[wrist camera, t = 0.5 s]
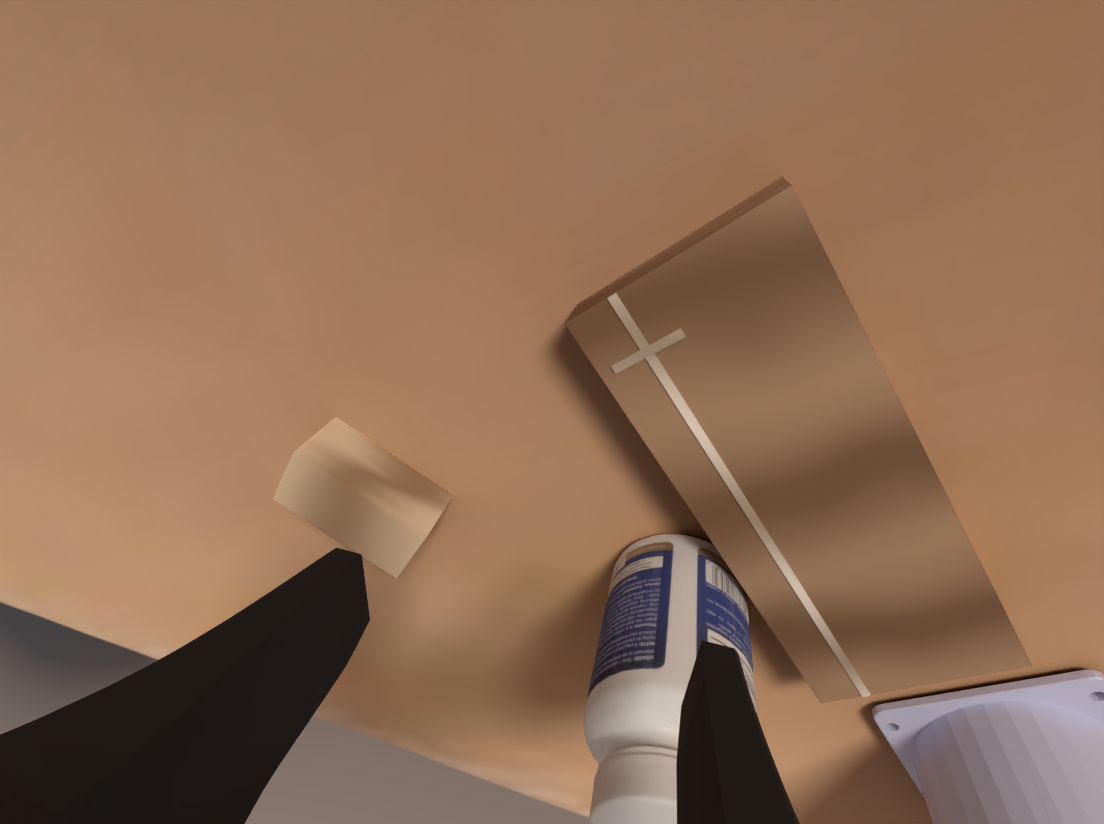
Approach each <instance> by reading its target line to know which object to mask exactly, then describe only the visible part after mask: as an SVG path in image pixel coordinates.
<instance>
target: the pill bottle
mask: <svg viewBox="0 0 1104 824" xmlns="http://www.w3.org/2000/svg"><path fill="white" fill-rule="evenodd" d="M702 640H703V641H707V642H711V643H715V644H719V645H723V646H727V647H731V648H735V650H736V651H737V652H738V654H739V657H740V661H741V665H742V669H743V672H744V676H745V679H746V683H747V686H748V689H749V692H750V695H751V699H752V702H753V705H754V708H755V711H756V714H757V709H756V700H755V687H754V676H753V664H752V653H751V642H750V631H749V619H748V608H747V600H746V592H745V590H744V589H743V587H742V586H741V584H740V583H739V581H738V580H737V578H736V577H735V575H734V574H733V572H732V571H731V570H730V568H729V567H728V565H727V564H726V562H725V561H724V559H723V558H722V556H721V555H720V553H719V552H718V550H717V549H716V547H715V546H714V545H713V544H711V543H709V542H707V541H704V540H701V539H698V538H695V537H691V536H687V535H681V534H660V535H654V536H650V537H647V538H643V539H641V540H639V541H637V542H635V543H633V544H632V545H631V546H629V547H628V548H627V549H626V550H625V551H623V553H622V554H621V556H620V557H619V559H618V560H617V562H616V564H615V567H614V570H613V574H612V578H611V582H610V588H609V592H608V598H607V604H606V608H605V613H604V618H603V623H602V628H601V633H600V638H599V643H598V648H597V653H596V658H595V663H594V668H593V673H592V678H591V683H590V688H589V693H588V698H587V702H586V707H585V715H584V733H585V738H586V741H587V744H588V747H589V749H590V751H591V753H592V755H593V756H594V758H595V759H596V761H597V762H598V764H599V767H598V769H597V773H596V775H595V779H594V788H593V795H592V802H591V809H590V824H677V774H676V761H677V749H678V737H679V726H680V715H681V705H682V702H683V698H684V695H685V692H686V689H687V686H688V682H689V679H690V676H691V673H692V670H693V666H694V663H695V660H696V657H697V654H698V651H699V647H700V644H701V641H702Z"/></svg>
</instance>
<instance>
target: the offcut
mask: <svg viewBox="0 0 1104 824" xmlns="http://www.w3.org/2000/svg"><path fill="white" fill-rule="evenodd" d="M452 497H453V495H452V494H450V493H449V492H447V491H446V490H444V489H443V488H441V487H440V486H438V485H437V484H435V483H434V482H432V481H431V480H429V479H428V478H426V477H425V476H423V475H422V474H420V473H419V472H417V471H416V470H414V469H413V468H411V467H410V466H408V465H407V464H405V463H404V462H402V461H401V460H399V459H398V458H397V457H395V456H394V455H392V454H391V453H389V452H388V451H386V450H385V449H383V448H382V447H380V446H379V445H377V444H376V443H374V442H373V441H371V440H370V439H368V438H367V437H365V436H364V435H362V434H361V433H359V432H358V431H356V430H355V429H353V428H352V427H350V426H349V425H347V424H346V423H344V422H343V421H341V420H340V419H338V418H337V417H335V418H334V419H333V420H331V421H330V422H329V423H328V424H327V425H325V426H324V427H323V428H322V429H321V430H319V431H318V432H317V433H316V434H315V435H313V436H312V437H311V438H310V439H309V440H307V441H306V442H305V443H304V444H303V445H301V446H300V447H299V448H298V449H297V450H295V451H294V452H293V454H292V456H291V459H290V461H289V463H288V466H287V468H286V470H285V472H284V475H283V477H282V479H281V482H280V484H279V486H278V489H277V491H276V493H275V495H274V498H273V500H275V501H276V502H278V503H280V504H281V505H283V506H284V507H286V508H287V509H289V510H290V511H292V512H294V513H295V514H297V515H298V516H300V517H301V518H303V519H304V520H306V521H308V522H309V523H311V524H312V525H314V526H315V527H317V528H318V529H320V530H321V531H323V532H325V533H326V534H328V535H329V536H331V537H332V538H334V539H335V540H337V541H339V542H340V543H342V544H343V545H345V546H346V547H348V548H349V549H351V550H353V551H354V552H356V553H358V554H362V557H363V558H365V559H366V560H368V561H370V562H371V563H373V564H374V565H376V566H377V567H379V568H380V569H382V570H384V571H385V572H387V573H388V574H390V575H391V576H393V577H394V578H396V579H397V577H398V576H399V575H400V573H401V572H402V571H403V569H404V568H405V566H406V565H407V564H408V562H409V561H410V560H411V558H412V557H413V555H414V554H415V553H416V551H417V550H418V548H419V547H420V546H421V544H422V543H423V542H424V540H425V539H426V537H427V536H428V534H429V533H430V531H431V530H432V528H433V527H434V525H435V523H436V522H437V520H438V519H439V517H440V516H441V514H442V513H443V511H444V510H445V508H446V507H447V505H448V504H449V502H450V500H451V499H452Z"/></svg>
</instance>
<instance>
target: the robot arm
mask: <svg viewBox="0 0 1104 824" xmlns="http://www.w3.org/2000/svg"><path fill="white" fill-rule="evenodd" d="M369 620H370V617H369V609H368V601H367V593H366V585H365V578H364V570H363V562H362V554H358V553H354V552H350V551H346V550H343V549H339V548H335V549H334V550H332V551H331V552H329V553H328V554H326V555H325V556H323V557H322V558H320V559H319V560H317V561H316V562H314V563H313V564H311V565H310V566H308V567H307V568H305V569H304V570H302V571H301V572H299V573H298V574H296V575H295V576H293V577H292V578H290V579H289V580H287V581H286V582H284V583H283V584H281V585H280V586H278V587H277V588H275V589H274V590H272V591H271V592H269V593H268V594H266V595H265V596H263V597H262V598H260V599H259V600H257V601H255V602H254V603H252V604H251V605H249V606H248V607H246V608H245V609H243V610H242V611H240V612H239V613H237V614H235V615H234V616H232V617H231V618H229V619H228V620H226V621H224V622H223V623H221V624H219V625H218V626H216V627H214V628H213V629H211V630H209V631H208V632H206V633H204V634H203V635H201V636H199V637H198V638H196V639H194V640H193V641H191V642H189V643H188V644H186V645H184V646H183V647H181V648H179V649H178V650H176V651H174V652H172V653H170V654H169V655H167V656H165V657H163V658H162V659H160V660H158V661H156V662H154V663H152V664H151V665H149V666H147V667H145V668H143V669H141V670H139V671H137V672H135V673H133V674H132V675H129V676H127V677H126V678H124V679H122V680H120V681H118V682H116V683H114V684H112V685H110V686H108V687H106V688H104V689H102V690H99V691H97V692H95V693H93V694H91V695H89V696H87V697H84V698H82V699H80V700H78V701H76V702H73V703H71V704H69V705H67V706H65V707H63V708H61V709H58V710H56V711H54V712H52V713H50V714H48V715H46V716H43V717H41V718H39V719H37V720H34V721H32V722H30V723H27V724H25V725H22V726H20V727H18V728H15V729H13V730H11V731H8V732H6V733H4V734H1V735H0V824H244V823H245V822H246V820H247V818H248V816H249V815H250V813H251V811H252V809H253V807H254V805H255V804H256V802H257V800H258V799H259V797H260V795H261V793H262V791H263V790H264V788H265V787H266V785H267V783H268V782H269V780H270V779H271V777H272V775H273V774H274V772H275V771H276V769H277V767H278V765H279V764H280V763H281V761H282V760H283V759H284V757H285V756H286V754H287V753H288V751H289V750H290V748H291V747H292V745H293V744H294V742H295V741H296V739H297V738H298V736H299V735H300V734H301V732H302V731H303V729H304V727H305V726H306V725H307V723H308V722H309V720H310V719H311V717H312V716H313V714H314V713H315V711H316V710H317V708H318V707H319V706H320V704H321V703H322V701H323V700H324V698H325V697H326V695H327V694H328V692H329V691H330V689H331V688H332V686H333V685H334V683H335V682H336V680H337V679H338V677H339V676H340V674H341V673H342V671H343V670H344V668H345V666H346V665H347V663H348V661H349V659H350V657H351V656H352V654H353V652H354V650H355V648H356V646H357V644H358V642H359V640H360V638H361V636H362V634H363V632H364V630H365V628H366V626H367V624H368V622H369ZM872 714H873V717H874V721H875V722H876V724H877V725H878V727H879V729H880V730H881V732H882V733H883V735H884V736H885V738H886V739H887V741H888V743H889V744H890V746H891V747H892V749H893V750H894V752H895V753H896V755H897V757H898V758H899V760H900V761H901V763H902V764H903V766H904V767H905V769H906V771H907V772H908V774H909V775H910V777H911V778H912V780H913V781H914V783H915V785H916V786H917V788H918V789H919V791H920V792H921V794H922V795H923V797H924V799H925V802H926V805H927V808H928V811H929V814H930V817H931V820H932V824H1104V675H1103V674H1102V673H1101V672H1099V671H1096V670H1090V669H1089V670H1080V671H1074V672H1068V673H1062V674H1056V675H1050V676H1044V677H1038V678H1032V679H1026V680H1020V681H1015V682H1009V683H1003V684H997V685H991V686H985V687H979V688H973V689H967V690H961V691H955V692H949V693H944V694H938V695H932V696H926V697H920V698H914V699H908V700H902V701H896V702H890V703H884V704H879V705H876V706H875V707H874V708H873V709H872ZM676 774H677V824H800V823H799V821H798V819H797V816H796V814H795V812H794V810H793V807H792V805H791V802H790V800H789V798H788V795H787V793H786V791H785V788H784V786H783V783H782V781H781V778H780V776H779V773H778V770H777V768H776V765H775V763H774V760H773V758H772V755H771V752H770V750H769V747H768V745H767V742H766V739H765V736H764V734H763V731H762V728H761V725H760V722H759V720H758V717H757V714H756V711H755V708H754V705H753V702H752V699H751V695H750V692H749V689H748V686H747V683H746V679H745V676H744V672H743V669H742V665H741V661H740V657H739V654H738V652H737V651H736V650H735V648H731V647H727V646H723V645H719V644H715V643H711V642H707V641H703V640H702V641H701V644H700V647H699V651H698V654H697V657H696V660H695V663H694V666H693V670H692V673H691V676H690V679H689V682H688V686H687V689H686V692H685V695H684V698H683V702H682V705H681V715H680V726H679V737H678V749H677V761H676Z"/></svg>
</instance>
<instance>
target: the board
mask: <svg viewBox="0 0 1104 824" xmlns="http://www.w3.org/2000/svg"><path fill="white" fill-rule="evenodd" d="M565 325H566V327H567V328H568V330H569V331H570V333H571V334H572V335H573V337H574V338H575V340H576V341H577V343H578V344H579V346H580V347H581V349H582V350H583V352H584V353H585V355H586V356H587V358H588V359H589V361H590V362H591V364H592V365H593V367H594V368H595V370H596V371H597V373H598V374H599V375H600V377H601V378H602V380H603V381H604V383H605V384H606V386H607V387H608V389H609V390H610V392H611V393H612V395H613V396H614V398H615V399H616V401H617V402H618V404H619V405H620V407H621V408H622V410H623V411H624V413H625V414H626V415H627V417H628V418H629V420H630V421H631V423H632V424H633V426H634V427H635V429H636V430H637V432H638V433H639V435H640V436H641V438H642V439H643V441H644V442H645V444H646V445H647V447H648V448H649V450H650V451H651V452H652V454H653V455H654V457H655V458H656V460H657V461H658V463H659V464H660V466H661V467H662V469H663V470H664V472H665V473H666V475H667V476H668V478H669V479H670V481H671V482H672V484H673V485H674V487H675V488H676V490H677V491H678V492H679V494H680V495H681V497H682V498H683V500H684V501H685V503H686V504H687V506H688V507H689V509H690V510H691V512H692V513H693V515H694V516H695V518H696V519H697V521H698V522H699V524H700V525H701V527H702V528H703V530H704V531H705V532H706V534H707V535H708V537H709V538H710V540H711V541H712V543H713V544H714V546H715V547H716V549H717V550H718V552H719V553H720V555H721V556H722V558H723V559H724V561H725V562H726V564H727V565H728V567H729V568H730V570H731V571H732V572H733V574H734V575H735V577H736V578H737V580H738V581H739V583H740V584H741V586H742V587H743V589H744V590H745V592H746V593H747V595H748V596H749V598H750V599H751V601H752V602H753V604H754V605H755V607H756V608H757V610H758V611H759V612H760V614H761V615H762V617H763V618H764V620H765V621H766V623H767V624H768V626H769V627H770V629H771V630H772V632H773V633H774V635H775V636H776V638H777V639H778V641H779V642H780V644H781V645H782V647H783V648H784V650H785V651H786V652H787V654H788V655H789V657H790V658H791V660H792V661H793V663H794V664H795V666H796V667H797V669H798V670H799V672H800V673H801V675H802V676H803V678H804V679H805V681H806V682H807V684H808V685H809V687H810V688H811V689H812V691H813V692H814V694H815V695H816V697H817V698H818V700H819V701H820V703H825V702H831V701H837V700H842V699H848V698H853V697H859V696H862V697H866V696H871V695H870V694H876V693H882V692H887V691H893V690H898V689H904V688H910V687H915V686H921V685H927V684H932V683H938V682H943V681H949V680H955V679H960V678H966V677H972V676H977V675H983V674H988V673H994V672H1000V671H1005V670H1011V669H1017V668H1022V667H1028V666H1032V664H1031V662H1030V660H1029V658H1028V656H1027V654H1026V652H1025V650H1024V648H1023V646H1022V644H1021V642H1020V640H1019V638H1018V636H1017V634H1016V632H1015V630H1014V628H1013V626H1012V624H1011V622H1010V620H1009V618H1008V616H1007V614H1006V612H1005V610H1004V608H1003V606H1002V604H1001V602H1000V600H999V598H998V596H997V594H996V592H995V590H994V588H993V586H992V584H991V582H990V580H989V578H988V576H987V574H986V572H985V570H984V568H983V566H982V564H981V562H980V560H979V558H978V556H977V554H976V552H975V550H974V548H973V546H972V544H971V542H970V540H969V538H968V536H967V534H966V532H965V530H964V528H963V526H962V524H961V522H960V520H959V518H958V516H957V514H956V512H955V510H954V508H953V506H952V504H951V502H950V500H949V498H948V496H947V494H946V492H945V490H944V488H943V486H942V484H941V482H940V480H939V478H938V476H937V474H936V472H935V470H934V468H933V466H932V464H931V462H930V460H929V458H928V456H927V454H926V452H925V450H924V448H923V446H922V444H921V442H920V440H919V438H918V436H917V434H916V432H915V430H914V428H913V426H912V424H911V422H910V420H909V418H908V416H907V414H906V412H905V410H904V408H903V406H902V404H901V402H900V400H899V398H898V396H897V394H896V392H895V390H894V388H893V386H892V384H891V382H890V380H889V378H888V376H887V374H886V372H885V370H884V368H883V366H882V364H881V362H880V360H879V358H878V356H877V354H876V352H875V350H874V348H873V346H872V344H871V342H870V340H869V338H868V336H867V334H866V332H865V330H864V328H863V326H862V324H861V322H860V320H859V318H858V316H857V314H856V312H855V310H854V308H853V306H852V304H851V302H850V300H849V298H848V296H847V294H846V292H845V290H844V288H843V286H842V284H841V282H840V280H839V278H838V276H837V274H836V272H835V270H834V268H833V266H832V264H831V262H830V260H829V258H828V256H827V254H826V252H825V250H824V248H823V246H822V244H821V242H820V240H819V238H818V236H817V234H816V232H815V230H814V228H813V226H812V224H811V222H810V220H809V218H808V216H807V214H806V212H805V210H804V208H803V206H802V204H801V202H800V200H799V198H798V196H797V194H796V192H795V190H794V188H793V186H792V185H791V184H790V183H789V182H787V181H786V180H785V179H784V178H783V177H782V178H780V179H779V180H777V181H776V182H774V183H772V184H771V185H769V186H767V187H766V188H764V189H763V190H761V191H759V192H758V193H756V194H755V195H753V196H751V197H750V198H748V199H747V200H745V201H743V202H742V203H740V204H738V205H737V206H735V207H734V208H732V209H730V210H729V211H727V212H726V213H724V214H722V215H721V216H719V217H717V218H716V219H714V220H713V221H711V222H709V223H708V224H706V225H705V226H703V227H701V228H700V229H698V230H697V231H695V232H693V233H692V234H690V235H688V236H687V237H685V238H684V239H682V240H680V241H679V242H677V243H676V244H674V245H672V246H671V247H669V248H667V249H666V250H664V251H663V252H661V253H659V254H658V255H656V256H655V257H653V258H651V259H650V260H648V261H647V262H645V263H643V264H642V265H640V266H638V267H637V268H635V269H634V270H632V271H630V272H629V273H627V274H626V275H624V276H622V277H621V278H619V279H617V280H616V281H614V282H613V283H611V284H609V285H608V286H606V287H605V288H603V289H601V290H600V291H598V292H597V293H595V294H593V295H592V296H590V297H588V298H587V299H585V300H584V301H582V302H580V303H579V304H577V306H576V307H575V309H574V310H573V312H572V313H571V315H570V316H569V318H568V319H567V321H566V322H565Z"/></svg>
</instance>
